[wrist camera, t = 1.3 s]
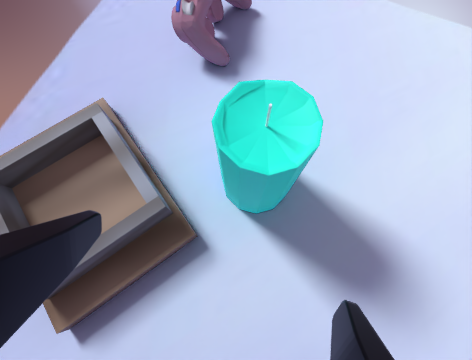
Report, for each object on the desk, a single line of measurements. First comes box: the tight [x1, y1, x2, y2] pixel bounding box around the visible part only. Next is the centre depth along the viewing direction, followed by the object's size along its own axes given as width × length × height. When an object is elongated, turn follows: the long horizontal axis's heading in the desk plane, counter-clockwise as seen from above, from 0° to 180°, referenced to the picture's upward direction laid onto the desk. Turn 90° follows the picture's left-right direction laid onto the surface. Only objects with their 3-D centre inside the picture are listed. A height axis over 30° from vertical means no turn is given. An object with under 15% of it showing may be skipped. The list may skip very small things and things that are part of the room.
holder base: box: [0, 98, 197, 334], centre depth 22 cm, size 16×12×4 cm
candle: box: [212, 80, 323, 214], centre depth 18 cm, size 6×6×12 cm
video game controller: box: [172, 0, 252, 66], centre depth 27 cm, size 10×5×7 cm, turn 163°
